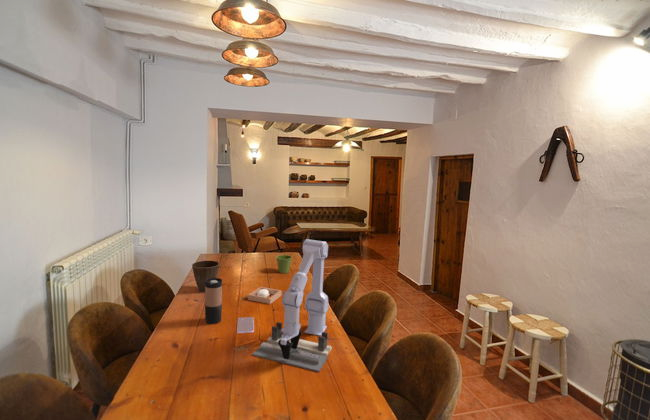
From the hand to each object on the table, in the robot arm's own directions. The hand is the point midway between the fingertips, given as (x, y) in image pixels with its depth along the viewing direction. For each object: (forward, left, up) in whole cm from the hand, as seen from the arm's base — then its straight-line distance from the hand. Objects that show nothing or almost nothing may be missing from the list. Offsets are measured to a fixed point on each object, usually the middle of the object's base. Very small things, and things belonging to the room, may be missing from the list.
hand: (290, 353), depth 128 cm
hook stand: (-9, 0, -1) cm, 9 cm away
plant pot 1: (-44, -75, -2) cm, 87 cm away
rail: (0, 0, -1) cm, 1 cm away
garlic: (-51, -40, -2) cm, 65 cm away
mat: (0, 0, -1) cm, 1 cm away
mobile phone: (-16, -30, -2) cm, 34 cm away
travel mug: (-13, -46, -2) cm, 48 cm away
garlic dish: (-49, -38, -1) cm, 62 cm away
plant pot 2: (-97, -49, -2) cm, 109 cm away
